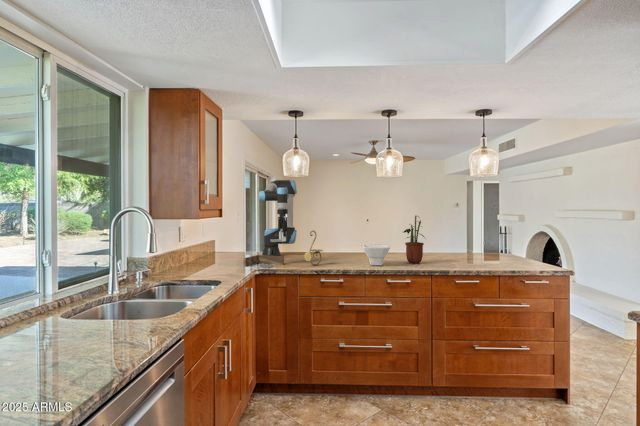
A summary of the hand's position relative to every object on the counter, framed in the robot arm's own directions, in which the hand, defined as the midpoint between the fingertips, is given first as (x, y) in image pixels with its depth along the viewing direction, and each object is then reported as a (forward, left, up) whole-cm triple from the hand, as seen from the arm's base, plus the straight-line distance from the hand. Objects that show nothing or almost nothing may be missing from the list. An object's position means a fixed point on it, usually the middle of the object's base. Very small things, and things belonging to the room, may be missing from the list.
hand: (282, 240), depth 278 cm
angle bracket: (+3, -3, 0) cm, 4 cm away
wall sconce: (-5, +23, -17) cm, 30 cm away
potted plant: (-38, +88, -17) cm, 98 cm away
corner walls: (+10, -10, -17) cm, 22 cm away
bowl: (-20, +64, -17) cm, 70 cm away
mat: (+13, -7, -17) cm, 23 cm away
